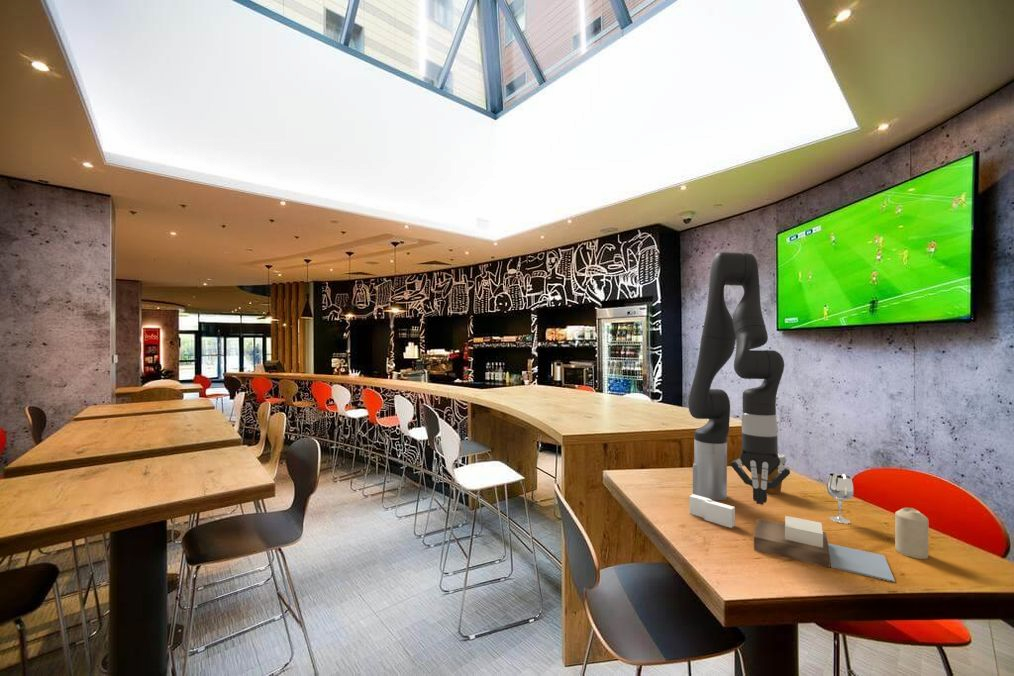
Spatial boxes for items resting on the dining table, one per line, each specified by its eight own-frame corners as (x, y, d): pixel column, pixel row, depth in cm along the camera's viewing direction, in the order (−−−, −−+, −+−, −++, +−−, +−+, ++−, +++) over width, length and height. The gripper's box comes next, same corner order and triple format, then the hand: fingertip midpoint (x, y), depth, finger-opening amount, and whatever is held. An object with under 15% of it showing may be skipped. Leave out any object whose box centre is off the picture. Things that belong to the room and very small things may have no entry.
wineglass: (858, 525, 111) (858, 480, 111) (833, 523, 112) (833, 478, 112) (845, 516, 116) (845, 473, 117) (822, 515, 118) (822, 471, 118)
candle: (932, 562, 93) (932, 516, 93) (898, 555, 96) (898, 511, 96) (924, 551, 98) (924, 508, 98) (892, 545, 101) (892, 503, 101)
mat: (831, 567, 91) (831, 565, 91) (827, 544, 101) (827, 543, 101) (894, 582, 85) (894, 580, 85) (884, 557, 95) (884, 555, 95)
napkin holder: (748, 531, 108) (748, 509, 109) (705, 533, 108) (706, 510, 108) (714, 508, 123) (714, 488, 123) (677, 509, 123) (677, 489, 123)
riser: (754, 549, 98) (754, 536, 98) (757, 530, 108) (757, 518, 108) (829, 567, 90) (829, 553, 90) (825, 545, 100) (826, 532, 100)
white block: (785, 539, 97) (785, 526, 97) (785, 528, 103) (785, 515, 103) (823, 547, 93) (823, 534, 93) (821, 535, 99) (821, 522, 99)
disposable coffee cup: (786, 489, 138) (786, 452, 138) (786, 498, 130) (786, 459, 130) (752, 484, 143) (752, 448, 143) (751, 492, 135) (751, 455, 135)
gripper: (726, 431, 104) (727, 502, 103) (791, 438, 96) (793, 514, 96) (730, 426, 110) (731, 493, 109) (791, 432, 102) (792, 504, 102)
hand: (760, 503), depth 103 cm, fingers closed
